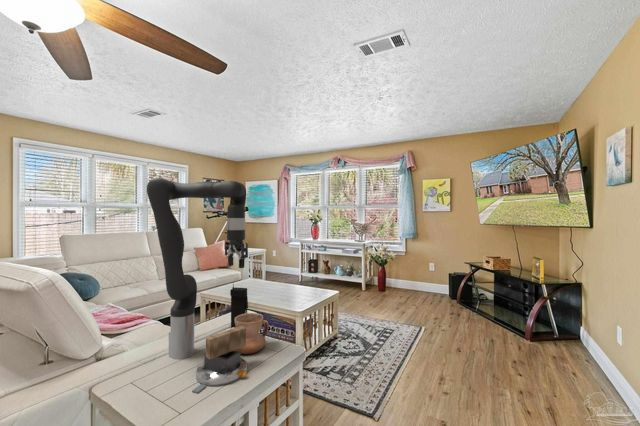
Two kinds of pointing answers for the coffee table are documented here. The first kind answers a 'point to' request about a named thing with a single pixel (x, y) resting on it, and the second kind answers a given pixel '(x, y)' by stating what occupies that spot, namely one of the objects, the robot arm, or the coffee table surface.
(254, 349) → the ceramic jug
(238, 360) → the grey disc
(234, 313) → the portable radio
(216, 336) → the brown wooden block
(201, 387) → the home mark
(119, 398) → the coffee table surface
